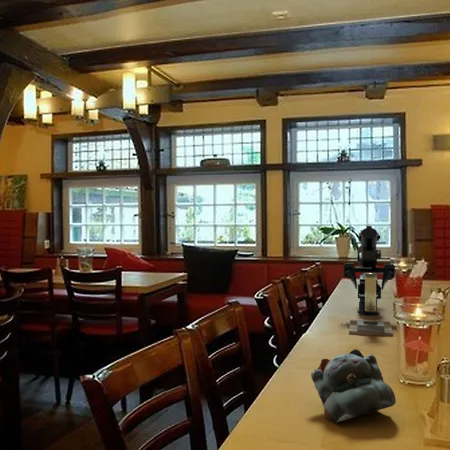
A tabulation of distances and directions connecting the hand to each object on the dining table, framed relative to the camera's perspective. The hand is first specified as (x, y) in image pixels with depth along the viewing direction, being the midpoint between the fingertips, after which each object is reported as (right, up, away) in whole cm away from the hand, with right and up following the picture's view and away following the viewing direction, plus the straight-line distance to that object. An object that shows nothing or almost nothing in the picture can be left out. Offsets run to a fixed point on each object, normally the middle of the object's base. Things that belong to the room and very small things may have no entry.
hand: (369, 288), depth 196 cm
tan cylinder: (-4, -6, -16) cm, 17 cm away
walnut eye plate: (-2, -13, -10) cm, 17 cm away
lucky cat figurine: (-28, -15, -89) cm, 94 cm away
